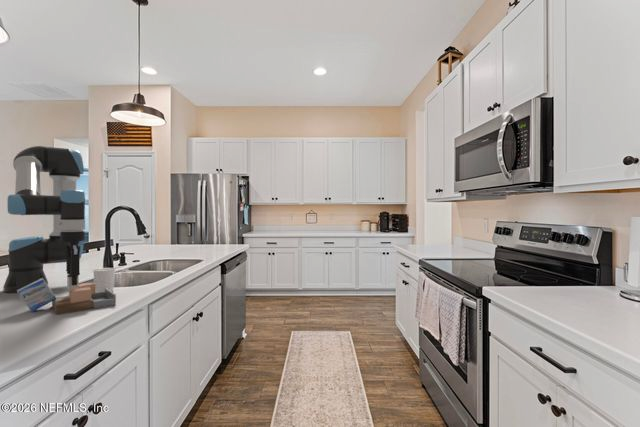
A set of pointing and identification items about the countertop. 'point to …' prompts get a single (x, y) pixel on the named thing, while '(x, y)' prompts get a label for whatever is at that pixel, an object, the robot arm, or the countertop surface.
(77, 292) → the tile
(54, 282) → the countertop surface
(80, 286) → the tile
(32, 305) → the medicine box
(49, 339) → the countertop surface
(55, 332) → the countertop surface
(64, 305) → the walnut plate
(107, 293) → the tray
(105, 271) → the white cup
